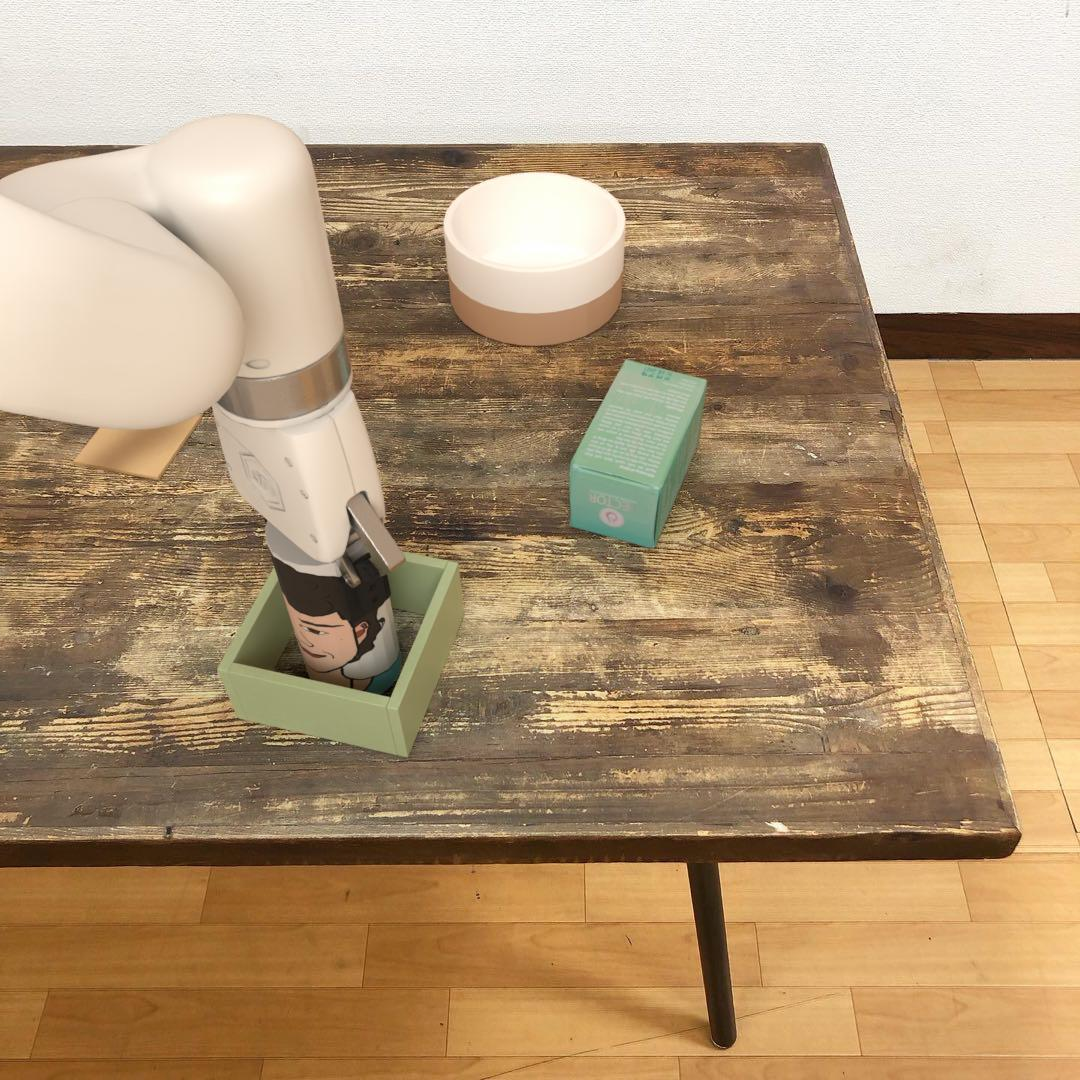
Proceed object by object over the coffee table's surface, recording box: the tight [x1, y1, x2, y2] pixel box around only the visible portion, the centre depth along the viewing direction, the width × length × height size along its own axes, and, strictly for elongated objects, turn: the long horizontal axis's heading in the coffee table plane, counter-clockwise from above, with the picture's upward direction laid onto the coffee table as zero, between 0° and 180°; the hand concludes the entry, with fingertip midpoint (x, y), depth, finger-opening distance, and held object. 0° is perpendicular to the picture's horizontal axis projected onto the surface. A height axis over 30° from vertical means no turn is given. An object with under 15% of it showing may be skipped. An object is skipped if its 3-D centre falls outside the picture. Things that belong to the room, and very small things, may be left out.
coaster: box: [73, 414, 203, 481], centre depth 93 cm, size 8×8×1 cm
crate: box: [216, 551, 465, 758], centre depth 75 cm, size 13×13×6 cm
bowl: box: [442, 171, 627, 347], centre depth 103 cm, size 17×17×8 cm
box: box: [568, 359, 708, 549], centre depth 86 cm, size 7×14×8 cm, turn 159°
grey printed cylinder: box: [264, 520, 403, 695], centre depth 72 cm, size 7×7×15 cm
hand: (332, 574), depth 70 cm, fingers open, 6 cm apart
